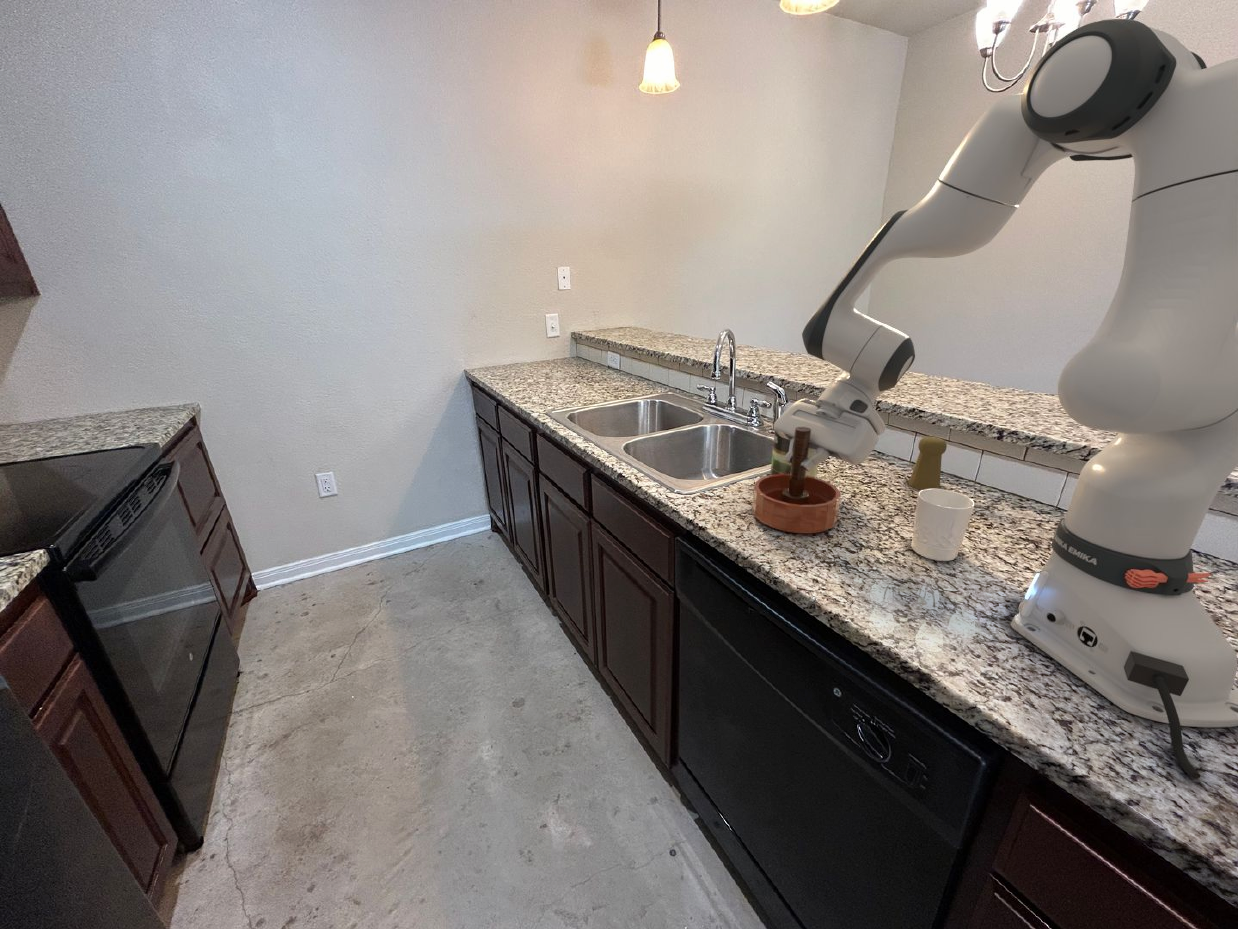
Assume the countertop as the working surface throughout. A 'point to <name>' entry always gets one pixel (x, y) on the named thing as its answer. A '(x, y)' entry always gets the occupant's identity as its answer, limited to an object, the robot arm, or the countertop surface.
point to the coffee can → (778, 457)
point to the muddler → (798, 468)
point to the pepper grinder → (928, 464)
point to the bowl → (796, 505)
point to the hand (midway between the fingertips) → (796, 465)
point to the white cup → (940, 523)
